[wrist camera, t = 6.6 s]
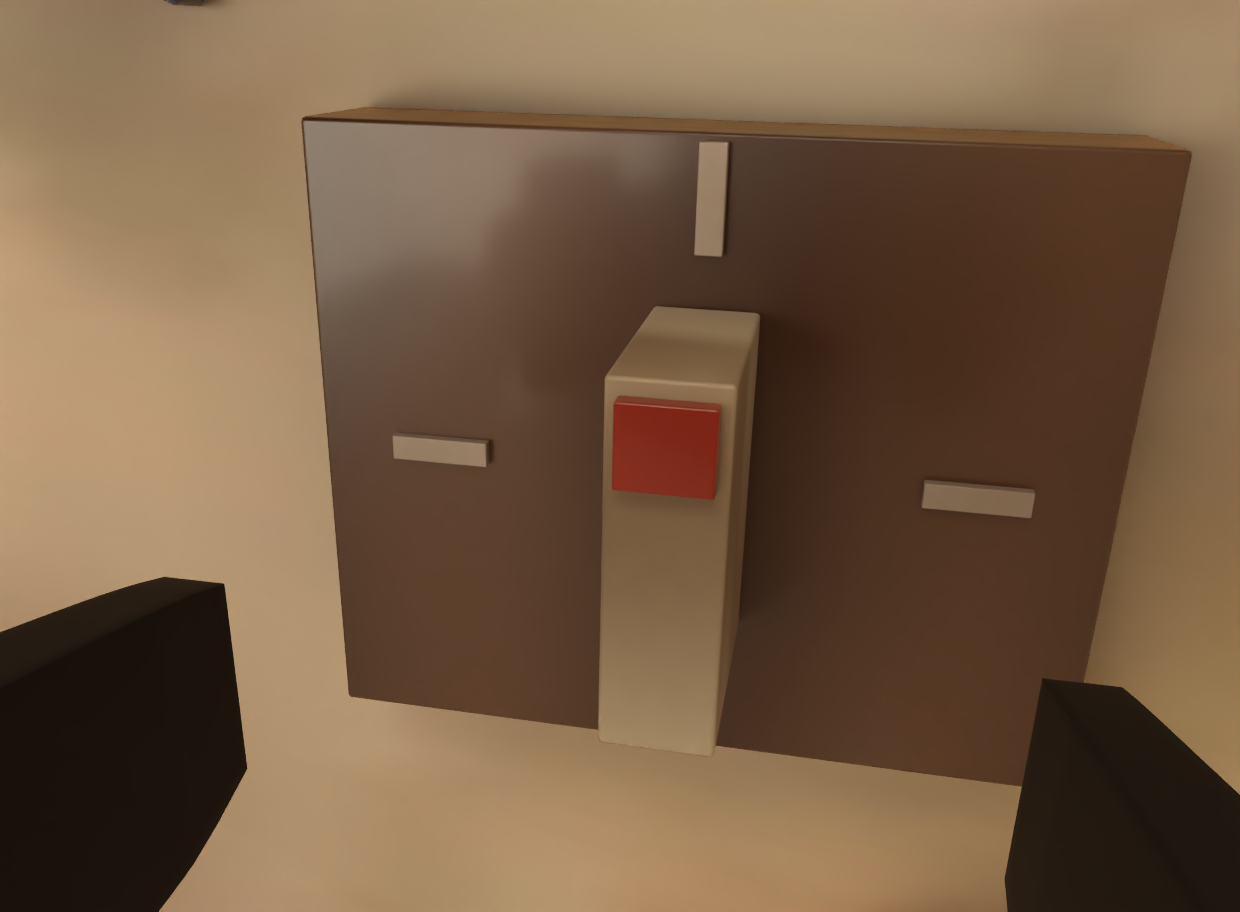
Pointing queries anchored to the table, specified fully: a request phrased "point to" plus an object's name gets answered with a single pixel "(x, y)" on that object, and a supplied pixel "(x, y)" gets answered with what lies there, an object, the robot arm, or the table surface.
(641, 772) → the table surface
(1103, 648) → the table surface
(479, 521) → the block
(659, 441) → the beige slab
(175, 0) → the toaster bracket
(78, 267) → the table surface
